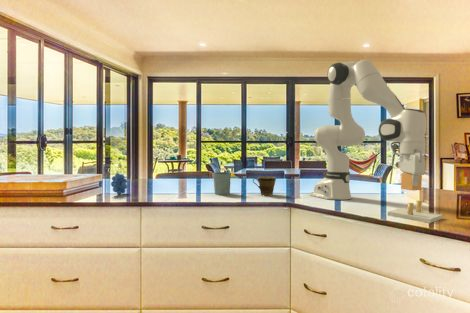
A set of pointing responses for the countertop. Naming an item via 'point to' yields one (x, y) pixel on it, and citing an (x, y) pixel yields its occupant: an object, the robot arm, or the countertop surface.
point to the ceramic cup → (266, 185)
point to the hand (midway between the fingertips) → (411, 184)
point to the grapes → (119, 183)
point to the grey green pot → (222, 183)
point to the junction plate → (415, 213)
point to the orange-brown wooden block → (407, 180)
